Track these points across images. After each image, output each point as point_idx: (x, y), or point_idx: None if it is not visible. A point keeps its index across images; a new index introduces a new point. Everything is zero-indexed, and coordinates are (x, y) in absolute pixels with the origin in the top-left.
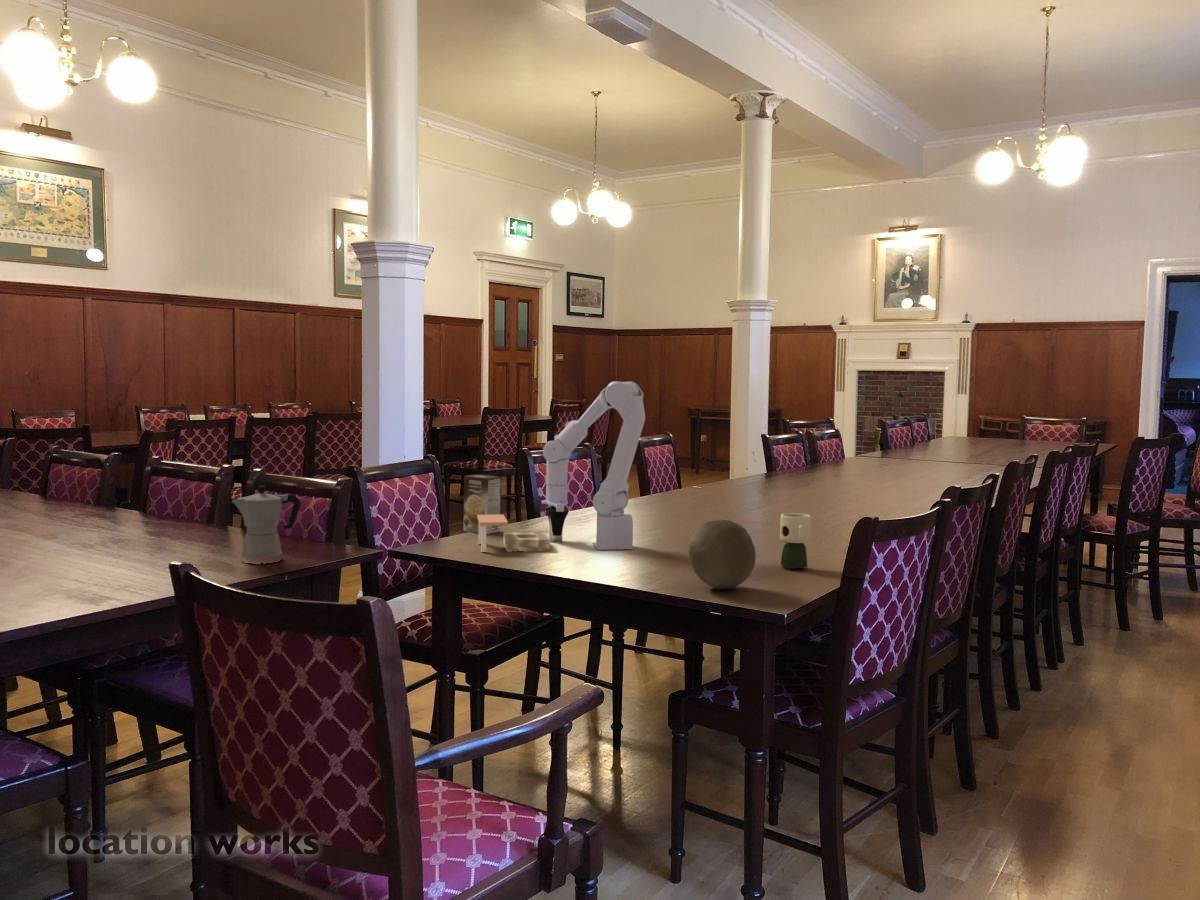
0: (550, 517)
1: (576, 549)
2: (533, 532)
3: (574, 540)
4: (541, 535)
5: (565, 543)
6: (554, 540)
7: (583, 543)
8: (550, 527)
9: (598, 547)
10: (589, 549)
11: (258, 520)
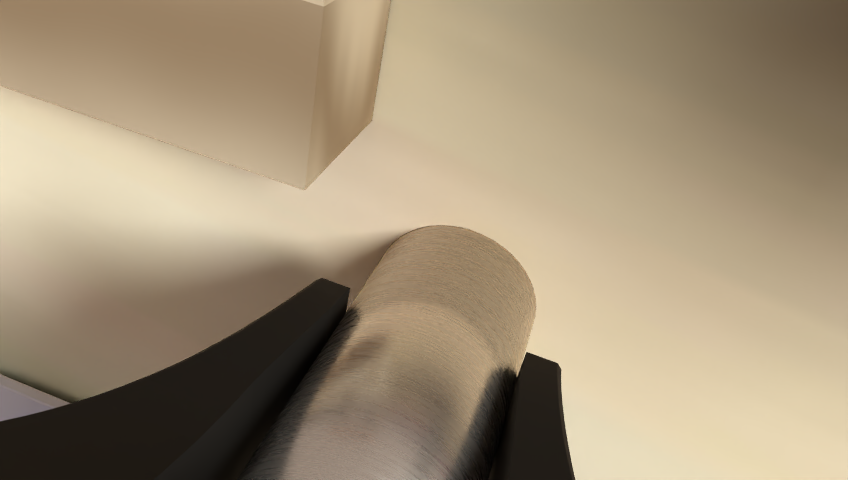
0: (71, 405)
1: (23, 255)
2: (319, 6)
3: None
4: (35, 19)
5: None
6: (379, 264)
7: None
8: (364, 347)
9: (1, 393)
10: (31, 339)
11: None
